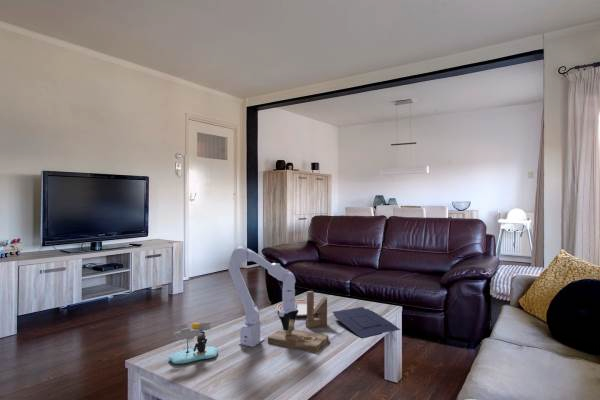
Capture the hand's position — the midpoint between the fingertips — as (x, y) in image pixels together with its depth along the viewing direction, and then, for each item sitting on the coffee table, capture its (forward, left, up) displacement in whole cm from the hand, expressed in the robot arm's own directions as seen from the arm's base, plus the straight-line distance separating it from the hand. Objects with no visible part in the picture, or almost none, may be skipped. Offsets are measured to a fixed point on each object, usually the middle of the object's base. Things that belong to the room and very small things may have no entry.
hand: (288, 327), depth 174 cm
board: (0, -5, -6) cm, 8 cm away
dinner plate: (+41, +14, -6) cm, 44 cm away
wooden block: (+23, -4, -6) cm, 24 cm away
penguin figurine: (-34, +26, -6) cm, 43 cm away
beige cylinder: (0, 0, -3) cm, 3 cm away
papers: (+35, -25, -6) cm, 44 cm away
